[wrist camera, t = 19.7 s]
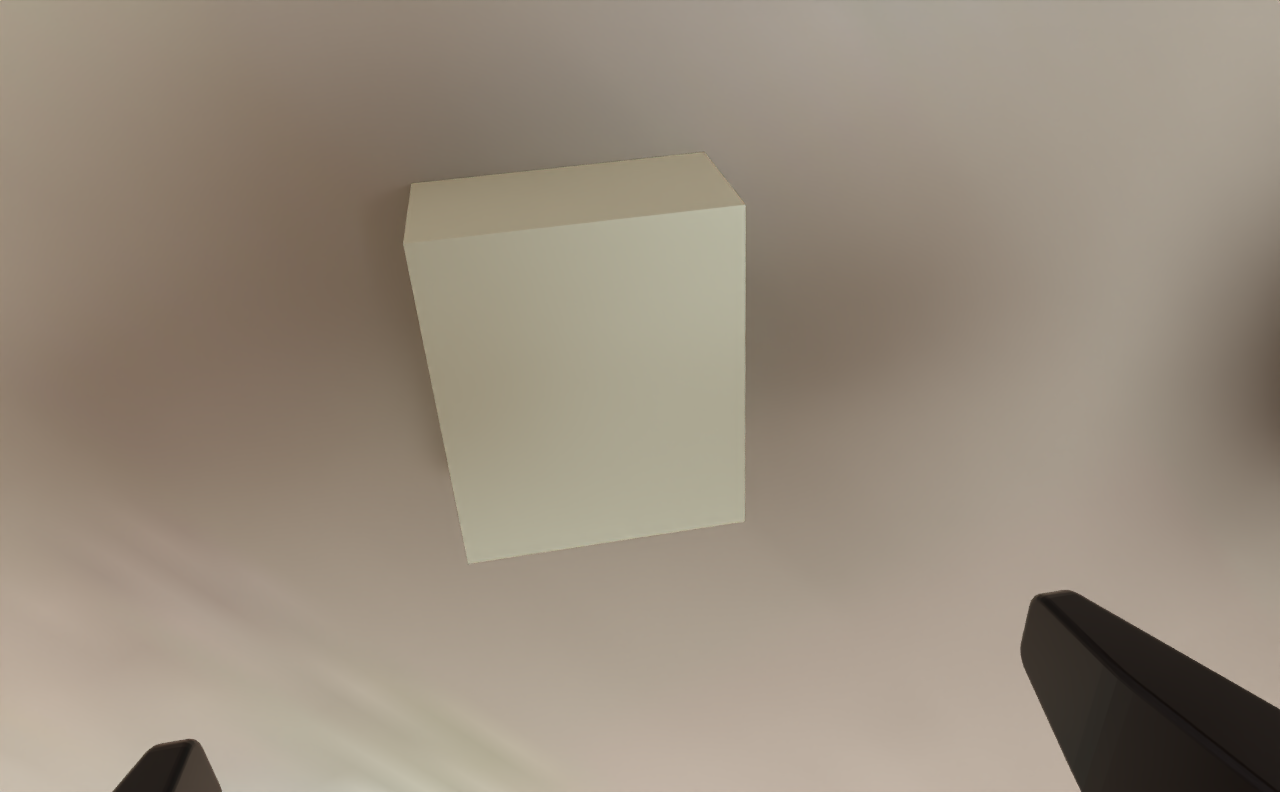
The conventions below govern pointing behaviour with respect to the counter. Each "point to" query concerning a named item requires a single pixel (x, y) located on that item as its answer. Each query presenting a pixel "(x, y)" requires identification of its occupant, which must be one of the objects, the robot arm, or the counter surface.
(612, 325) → the pale green carton
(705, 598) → the counter surface
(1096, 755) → the robot arm
